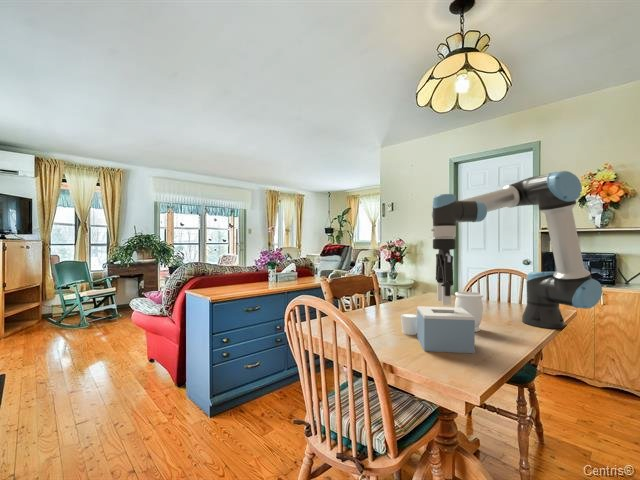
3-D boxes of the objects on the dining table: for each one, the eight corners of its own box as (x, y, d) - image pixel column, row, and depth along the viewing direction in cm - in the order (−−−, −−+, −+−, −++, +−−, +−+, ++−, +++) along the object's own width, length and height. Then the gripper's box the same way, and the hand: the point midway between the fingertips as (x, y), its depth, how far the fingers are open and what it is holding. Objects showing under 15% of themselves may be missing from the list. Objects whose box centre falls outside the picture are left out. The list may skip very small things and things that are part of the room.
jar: (476, 326, 134) (477, 291, 133) (487, 333, 123) (487, 295, 123) (451, 325, 135) (451, 290, 134) (459, 332, 124) (459, 295, 124)
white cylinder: (419, 335, 120) (419, 317, 120) (401, 334, 122) (401, 317, 122) (417, 330, 127) (417, 313, 127) (400, 329, 129) (400, 312, 128)
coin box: (461, 339, 116) (461, 307, 116) (474, 353, 102) (474, 317, 102) (417, 337, 118) (417, 306, 118) (424, 350, 104) (424, 315, 104)
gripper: (427, 238, 120) (427, 297, 120) (439, 238, 101) (439, 308, 101) (447, 238, 119) (447, 297, 119) (464, 238, 99) (464, 309, 100)
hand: (443, 302), depth 110 cm, fingers open, 7 cm apart
